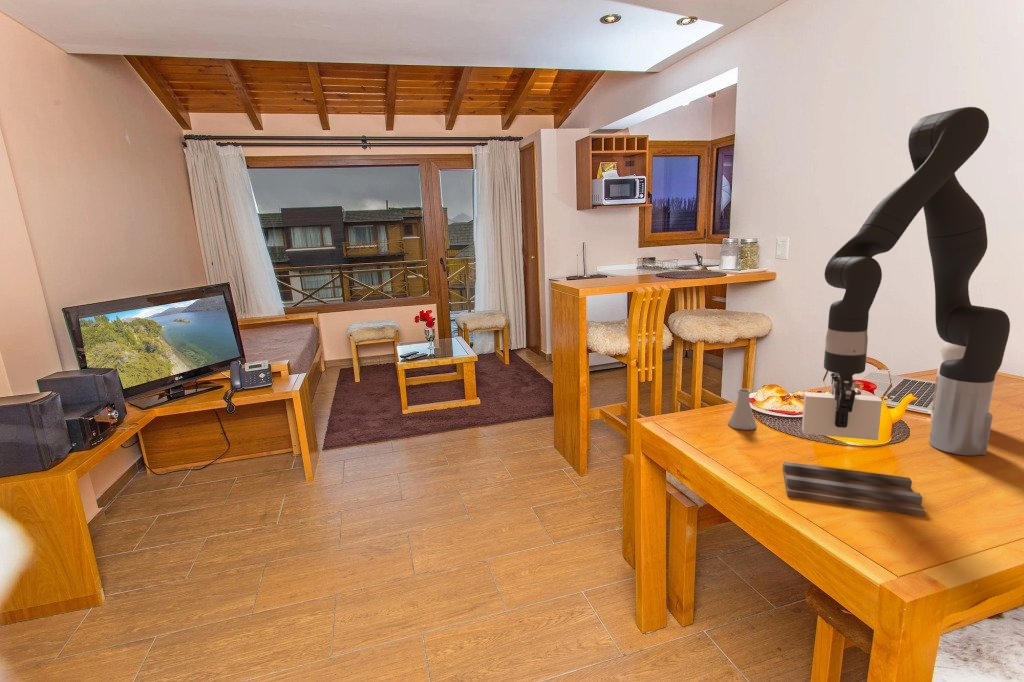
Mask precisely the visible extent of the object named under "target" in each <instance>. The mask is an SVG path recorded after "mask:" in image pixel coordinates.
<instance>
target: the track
mask: <svg viewBox="0 0 1024 682" xmlns="http://www.w3.org/2000/svg"><path fill="white" fill-rule="evenodd" d="M782 475H783V478H784V479H783V481H784V487H785V492H786V496H787V497H791V498H792V497H793V498H797V499H798V498H800V499H803V500H805V499H806V500H812V501H818V502H819V501H820V502H826V503H830V504H831V503H832V504H839V505H844V504H845V505H846V506H850V505H851V506H850V507H857V506H859V508H864V509H871V510H879V511H885V512H892V513H897V512H899V513H898V514H903V513H904V515H910V516H918V517H923V518H924V517H925V514H926V509H925V508H924V506H923V505H922V503H923V496H922V495H921V493H920V492H914V491H913V489H912V485H913V484H912V483H913V481H912V480H911V478H910V477H908V476H907V477H906V476H898V475H891V474H884V473H883V474H882V473H877V472H870V471H869V472H867V471H862V470H861V471H859V470H851V469H847V468H845V469H844V468H837V467H829V466H828V467H827V466H820V465H814V464H813V465H812V464H807V463H806V464H805V463H796V462H790V461H789V462H788V461H784V462H783V463H782Z"/></svg>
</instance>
